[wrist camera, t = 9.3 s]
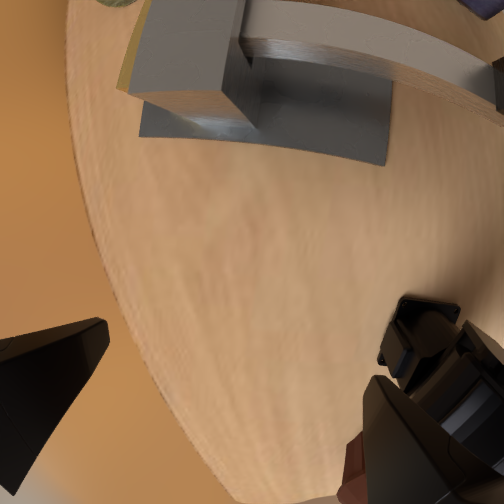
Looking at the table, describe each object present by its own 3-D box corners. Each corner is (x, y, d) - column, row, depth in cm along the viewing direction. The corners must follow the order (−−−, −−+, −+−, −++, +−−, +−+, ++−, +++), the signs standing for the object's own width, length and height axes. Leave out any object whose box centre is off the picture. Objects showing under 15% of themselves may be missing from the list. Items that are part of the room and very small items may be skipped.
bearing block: (389, 36, 14) (438, -33, 5) (382, 166, 18) (454, 164, 8) (166, 19, 16) (101, -38, 7) (142, 137, 20) (49, 125, 10)
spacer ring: (212, 32, 16) (180, -14, 10) (192, 111, 18) (146, 87, 12) (188, 32, 16) (149, -10, 10) (168, 109, 18) (115, 88, 12)
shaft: (504, 91, 9) (566, 75, 3) (506, 134, 10) (574, 130, 4) (208, 18, 11) (165, -43, 5) (199, 60, 12) (145, 8, 6)
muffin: (353, 413, 24) (363, 493, 14) (440, 408, 22) (466, 473, 13) (324, 467, 27) (323, 530, 18) (399, 463, 26) (410, 519, 16)
